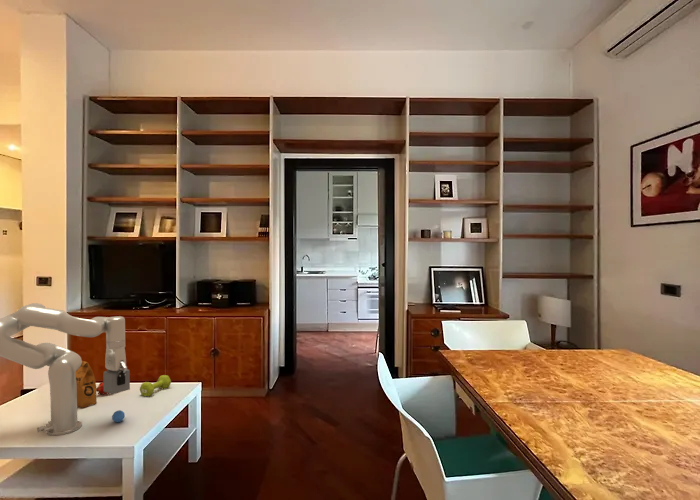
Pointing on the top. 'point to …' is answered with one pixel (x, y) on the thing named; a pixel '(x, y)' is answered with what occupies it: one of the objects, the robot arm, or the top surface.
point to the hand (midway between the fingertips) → (116, 382)
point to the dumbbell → (155, 385)
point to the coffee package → (85, 386)
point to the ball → (118, 416)
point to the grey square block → (115, 382)
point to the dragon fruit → (101, 389)
